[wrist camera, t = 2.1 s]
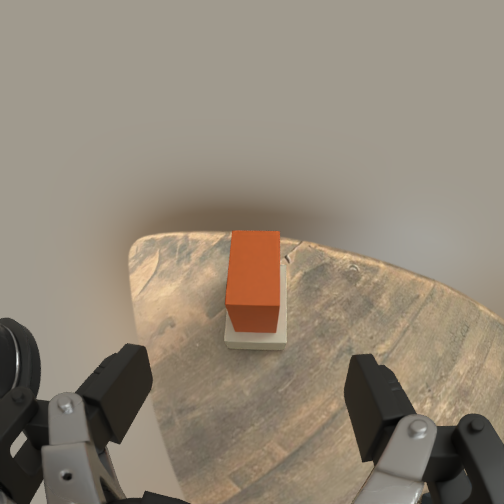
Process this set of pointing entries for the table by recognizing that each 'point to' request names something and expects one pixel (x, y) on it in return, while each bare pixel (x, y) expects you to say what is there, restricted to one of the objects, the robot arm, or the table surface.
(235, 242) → the eraser
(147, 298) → the table surface
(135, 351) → the robot arm
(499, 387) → the table surface
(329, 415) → the table surface
